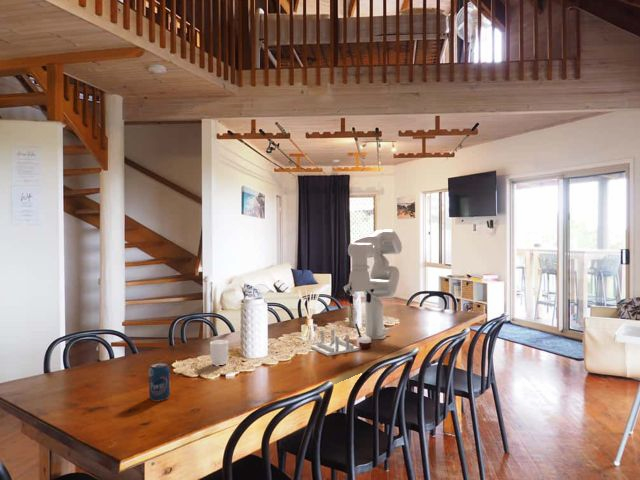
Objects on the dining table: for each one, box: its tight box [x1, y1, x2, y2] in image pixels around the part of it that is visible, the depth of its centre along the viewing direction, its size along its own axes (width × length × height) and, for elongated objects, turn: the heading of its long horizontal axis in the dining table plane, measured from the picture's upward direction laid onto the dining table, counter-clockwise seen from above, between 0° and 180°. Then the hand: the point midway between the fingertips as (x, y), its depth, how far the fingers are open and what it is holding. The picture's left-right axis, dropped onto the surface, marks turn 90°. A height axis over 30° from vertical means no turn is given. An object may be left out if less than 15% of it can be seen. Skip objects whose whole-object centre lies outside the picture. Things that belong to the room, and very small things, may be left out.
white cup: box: [209, 339, 229, 365], centre depth 195 cm, size 8×8×10 cm
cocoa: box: [354, 323, 375, 351], centre depth 217 cm, size 10×6×12 cm, turn 42°
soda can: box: [148, 361, 171, 402], centre depth 157 cm, size 7×7×12 cm
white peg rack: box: [310, 328, 360, 357], centre depth 217 cm, size 18×16×8 cm
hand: (359, 302), depth 218 cm, fingers open, 9 cm apart
